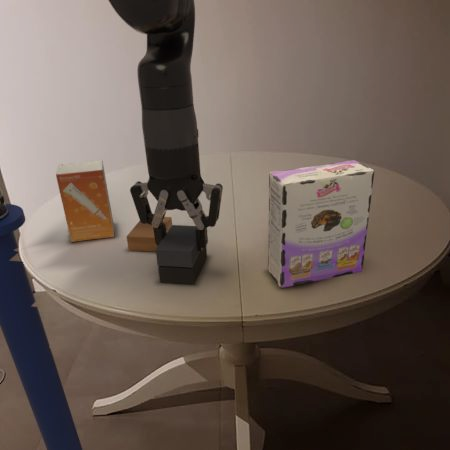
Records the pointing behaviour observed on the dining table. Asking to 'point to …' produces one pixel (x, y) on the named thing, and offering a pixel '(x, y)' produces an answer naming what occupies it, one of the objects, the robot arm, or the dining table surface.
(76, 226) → the small box
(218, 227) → the dining table surface
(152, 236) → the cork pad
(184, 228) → the grey pad
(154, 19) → the robot arm
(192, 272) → the black pad
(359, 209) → the candy box
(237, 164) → the dining table surface
